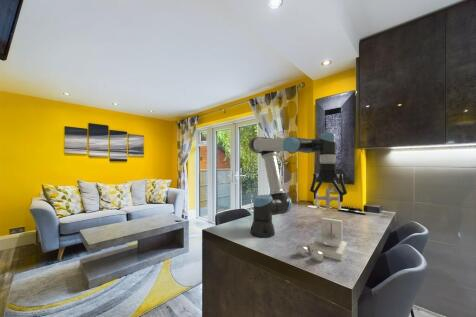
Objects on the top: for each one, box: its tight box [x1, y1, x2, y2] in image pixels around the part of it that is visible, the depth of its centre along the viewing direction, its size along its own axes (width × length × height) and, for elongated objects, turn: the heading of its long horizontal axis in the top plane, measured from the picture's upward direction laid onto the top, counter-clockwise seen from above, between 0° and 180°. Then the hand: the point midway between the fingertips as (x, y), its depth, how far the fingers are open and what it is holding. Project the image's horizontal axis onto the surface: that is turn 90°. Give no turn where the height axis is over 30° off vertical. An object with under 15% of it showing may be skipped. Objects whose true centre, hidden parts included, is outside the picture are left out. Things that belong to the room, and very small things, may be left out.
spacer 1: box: [296, 244, 309, 258], centre depth 96 cm, size 5×5×4 cm
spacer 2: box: [311, 249, 324, 264], centre depth 91 cm, size 5×5×4 cm
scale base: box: [309, 217, 348, 261], centre depth 102 cm, size 14×18×14 cm
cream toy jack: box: [317, 187, 338, 210], centre depth 101 cm, size 10×10×10 cm
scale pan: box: [313, 233, 342, 247], centre depth 101 cm, size 11×11×1 cm
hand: (327, 207), depth 101 cm, fingers closed on cream toy jack, 10 cm apart
